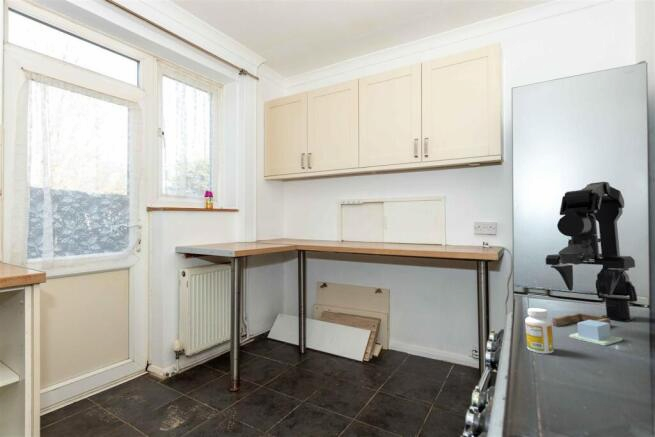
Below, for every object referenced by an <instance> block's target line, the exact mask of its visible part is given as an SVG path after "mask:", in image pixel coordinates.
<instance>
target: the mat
mask: <svg viewBox="0 0 655 437" xmlns="http://www.w3.org/2000/svg"><path fill="white" fill-rule="evenodd" d="M568 337H569V338H571V339H576V340H580V341H584V342H589V343H591V344H595V345H601V346H608V345H611V344H615V343H618V342H621V341H623V338H622V337H619V336H613V335H611V337H609V338H606V339H603V340H600V341H597V340H593V339H588V338H584V337H579V336H578V332H575V333H571V334H569V335H568Z"/></svg>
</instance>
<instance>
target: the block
mask: <svg viewBox="0 0 655 437" xmlns="http://www.w3.org/2000/svg"><path fill="white" fill-rule="evenodd" d="M576 323H577V333H578V336H579V337H584V338H588V339H593V340H597V341H600V340H603V339H606V338H609V337H611V336H612V334H611V333H612V332H611V326H610V324H611V322H610V323H605V322H600V321H594V320H586V321H583V322H582V321H579V322H576Z"/></svg>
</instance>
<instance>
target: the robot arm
mask: <svg viewBox="0 0 655 437" xmlns="http://www.w3.org/2000/svg"><path fill="white" fill-rule="evenodd" d="M560 204H561V205H560V209H559V216H561V218H559V220H558V222H557V225H556V227H557V230H558V232H560V233H561V235H563V236H566V237H570V238H569V239H568V242H567V243H568V244H567V246H566V247H563V248H562V249H561V250H560V251H558V253H553V254H547V255H546V257H545V265H546V266H547V265H549V266H550V268H551V269H554V270H556V271H557V272H558V273H559V275H560V276H561V278H562V280H563V282H564V283H565V286H566V287H567V289H568V291H573V288H574V271H573V270H574V268H573V267H574V266H573V265H597V266H598V265H599V266H602V268H601V269H600V271H599V272H598V273H597V274H596V280H595V289H596V294H597V298H598V299H604V300H605V301H604V302H605V310H606V312H605V313H606V314H604V315H601V316H600V317H604V318H609V319H610V320H615V321H620V322H625V323H626V322H629V321H634V320H636V319H637V318H636V316H635V317H634V316H631V310H630V302H631V303H632V302H638V295H637V291H636V288H635V286H634V285H633V283H632V281H630V275H629V274H628V273H627V271H629V270H630V269H632V268H636V261H635V259H634V258H633V257H632V255H621V254H620V252H621V251H620V250H621V249H620V241H619V240H620V239H619V231H618V221H619V219H620V218H621V216H622V215H623V209H624V208H625V199H624V197H623V194H622V192H621V191H620V190H619V189H617V188H615V187H612V186H611V185H610V183H609V182H608V181H600V182H592V183H588V184H586V186H585V187H583V188H582V189H578V190H571V191H565V192H564V195H563V196H562V199H561V203H560ZM597 222H598V227H597ZM598 230H599V232H598ZM598 233H599V238H598ZM599 243H600V248H599ZM599 249H600V250H599ZM600 251H601V253H600Z"/></svg>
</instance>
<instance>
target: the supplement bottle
mask: <svg viewBox="0 0 655 437" xmlns="http://www.w3.org/2000/svg"><path fill="white" fill-rule="evenodd" d="M527 315H528V317H526V318H525V321H524V322H525V323H524V324H525V325H524V326H525V334H526V347H527V349H528V351H530V352H534V353H537V354H544V355H545V354H552V353H554V349H555V348H554V338H553V323H552V321H551V320H550V319H549V318H547V317H548V310H547V309H544V308H539V307H537V308H536V307H530V308H527Z"/></svg>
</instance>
